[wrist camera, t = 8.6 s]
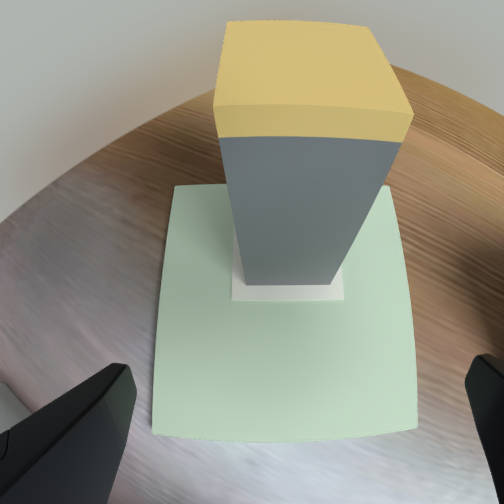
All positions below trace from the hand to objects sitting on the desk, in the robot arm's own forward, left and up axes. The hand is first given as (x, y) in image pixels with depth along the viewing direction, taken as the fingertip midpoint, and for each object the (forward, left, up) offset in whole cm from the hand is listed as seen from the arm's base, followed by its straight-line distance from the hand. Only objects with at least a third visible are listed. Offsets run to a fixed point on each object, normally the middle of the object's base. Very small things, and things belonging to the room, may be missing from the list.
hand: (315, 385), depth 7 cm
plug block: (+5, +5, -9) cm, 12 cm away
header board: (+3, +3, -9) cm, 11 cm away
